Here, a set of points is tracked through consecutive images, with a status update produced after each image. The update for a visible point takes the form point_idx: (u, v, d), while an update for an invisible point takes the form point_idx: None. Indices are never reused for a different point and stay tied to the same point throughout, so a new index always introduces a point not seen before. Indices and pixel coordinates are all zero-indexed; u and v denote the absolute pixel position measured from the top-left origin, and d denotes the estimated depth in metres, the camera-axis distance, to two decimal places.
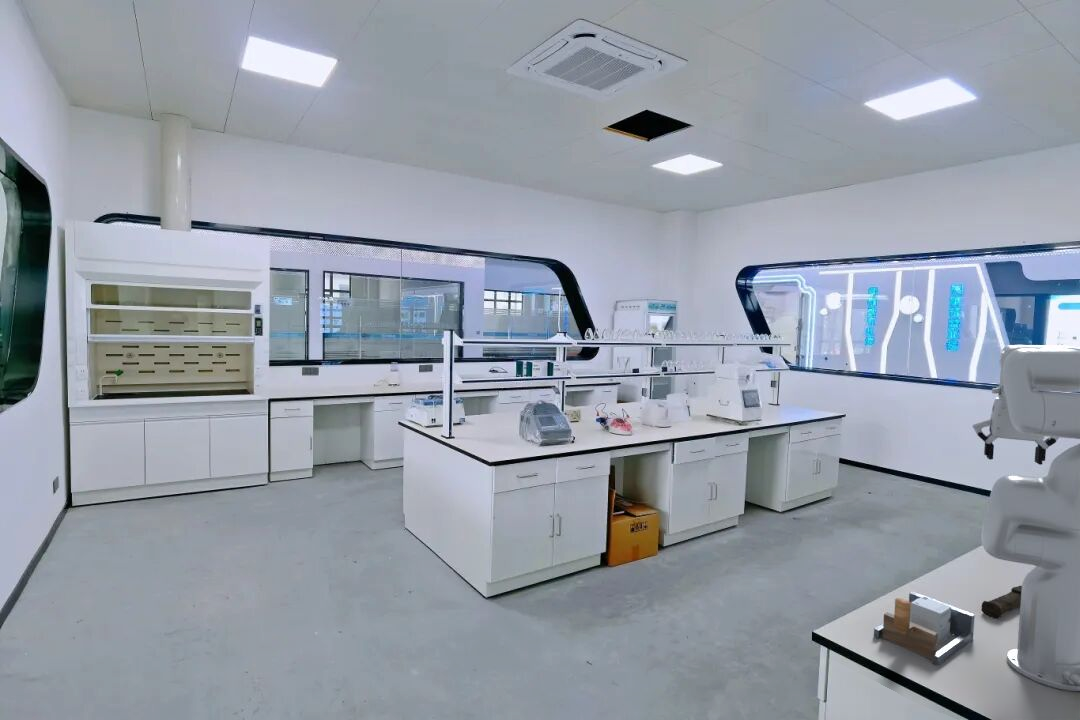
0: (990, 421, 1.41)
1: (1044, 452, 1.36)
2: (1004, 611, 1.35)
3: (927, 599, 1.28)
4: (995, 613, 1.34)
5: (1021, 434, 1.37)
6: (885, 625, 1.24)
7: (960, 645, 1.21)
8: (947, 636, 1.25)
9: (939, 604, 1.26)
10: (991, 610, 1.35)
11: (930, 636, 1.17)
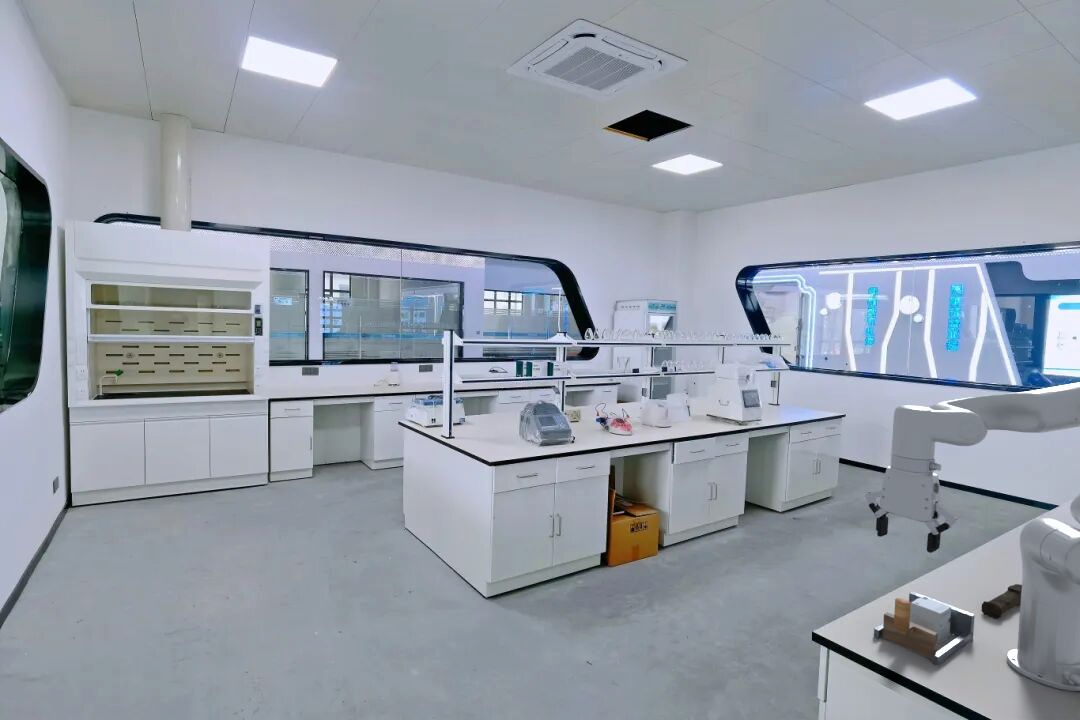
0: None
1: None
2: (1004, 611, 1.35)
3: (927, 599, 1.28)
4: (996, 613, 1.34)
5: None
6: (885, 625, 1.24)
7: (960, 645, 1.21)
8: (947, 636, 1.25)
9: (939, 604, 1.26)
10: (991, 611, 1.35)
11: (930, 636, 1.17)
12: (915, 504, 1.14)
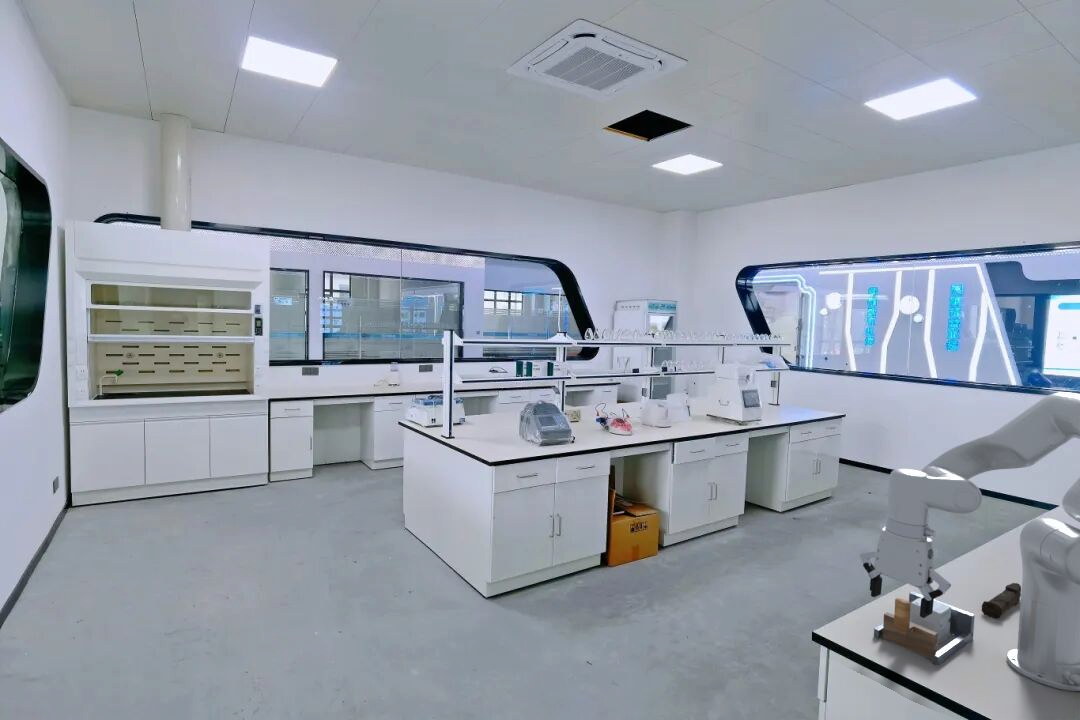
0: None
1: None
2: (1003, 611, 1.35)
3: None
4: (996, 613, 1.34)
5: None
6: (885, 625, 1.24)
7: (960, 645, 1.21)
8: (947, 636, 1.25)
9: (939, 604, 1.26)
10: (991, 611, 1.34)
11: (930, 636, 1.17)
12: (909, 569, 1.15)
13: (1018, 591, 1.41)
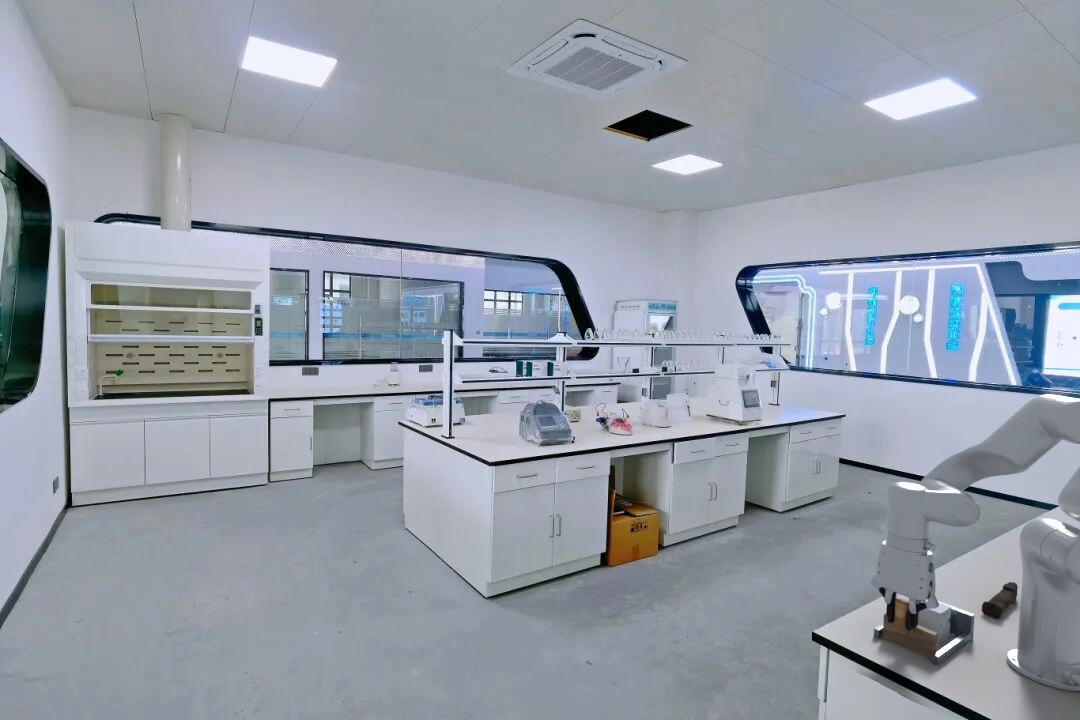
0: None
1: None
2: (1003, 610, 1.35)
3: (927, 599, 1.28)
4: (996, 613, 1.34)
5: None
6: (885, 625, 1.24)
7: (960, 645, 1.21)
8: (947, 636, 1.25)
9: (939, 604, 1.26)
10: (992, 611, 1.34)
11: (930, 636, 1.17)
12: (910, 583, 1.15)
13: (1015, 590, 1.42)
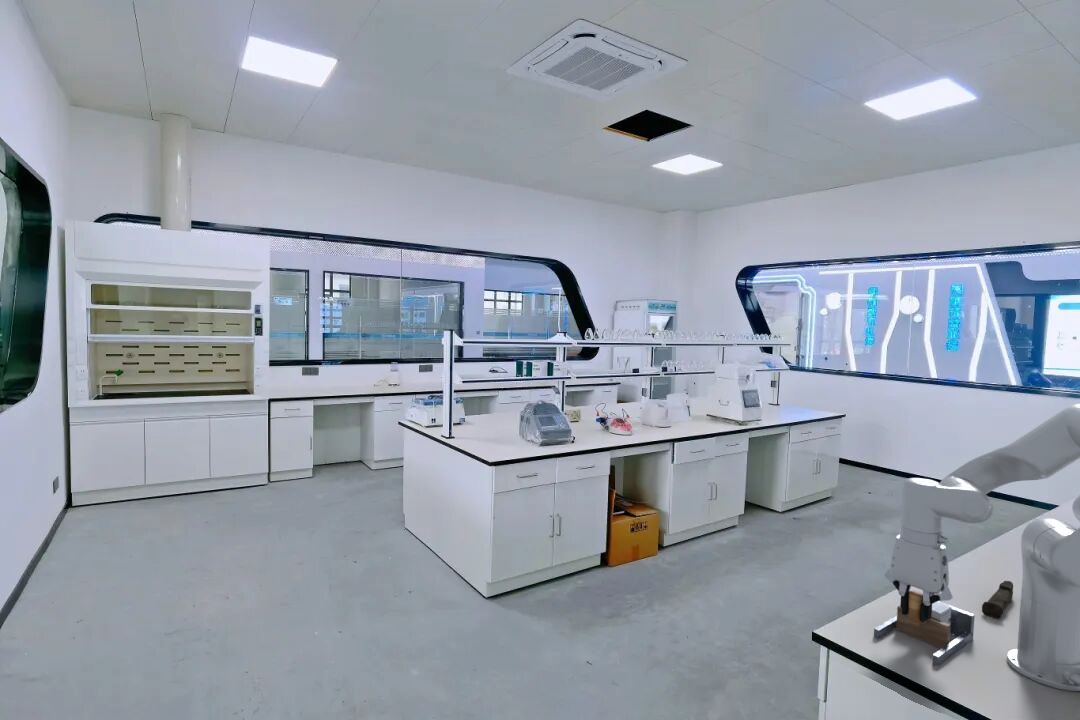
0: None
1: None
2: (1002, 610, 1.35)
3: None
4: (997, 613, 1.34)
5: None
6: (899, 617, 1.28)
7: (960, 645, 1.21)
8: None
9: (940, 603, 1.26)
10: (992, 611, 1.34)
11: (943, 627, 1.20)
12: (924, 575, 1.18)
13: (1012, 589, 1.42)
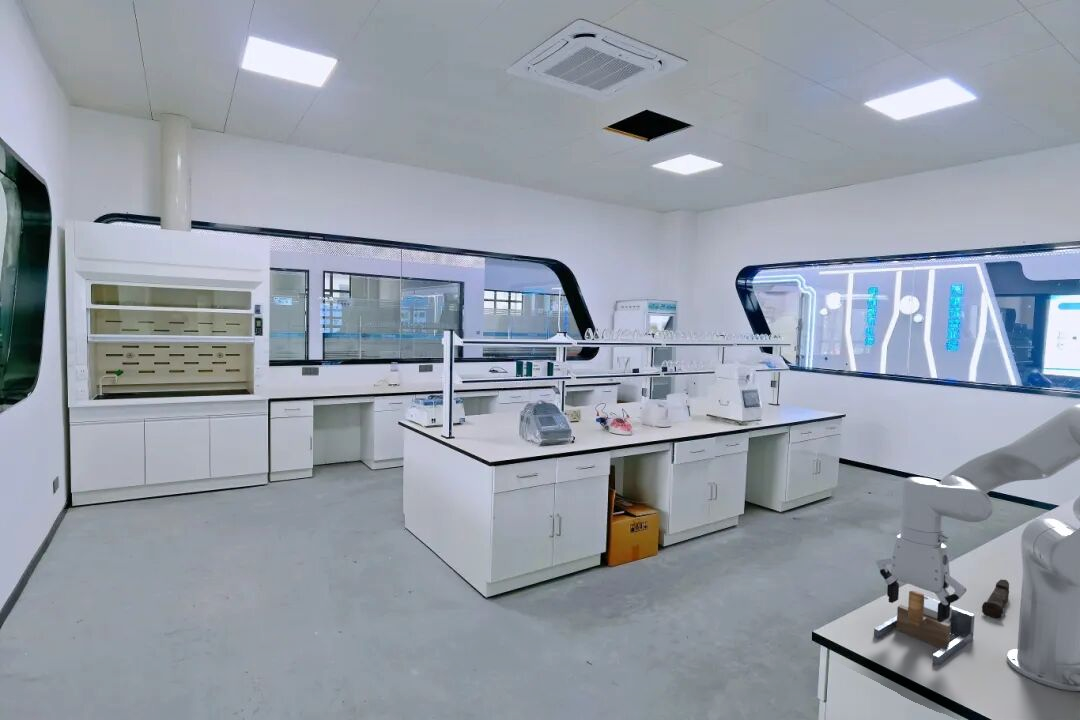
0: None
1: None
2: None
3: (928, 599, 1.29)
4: (997, 613, 1.34)
5: None
6: (899, 617, 1.28)
7: (960, 645, 1.21)
8: None
9: None
10: (992, 611, 1.34)
11: (943, 627, 1.20)
12: (925, 575, 1.18)
13: (1008, 588, 1.43)
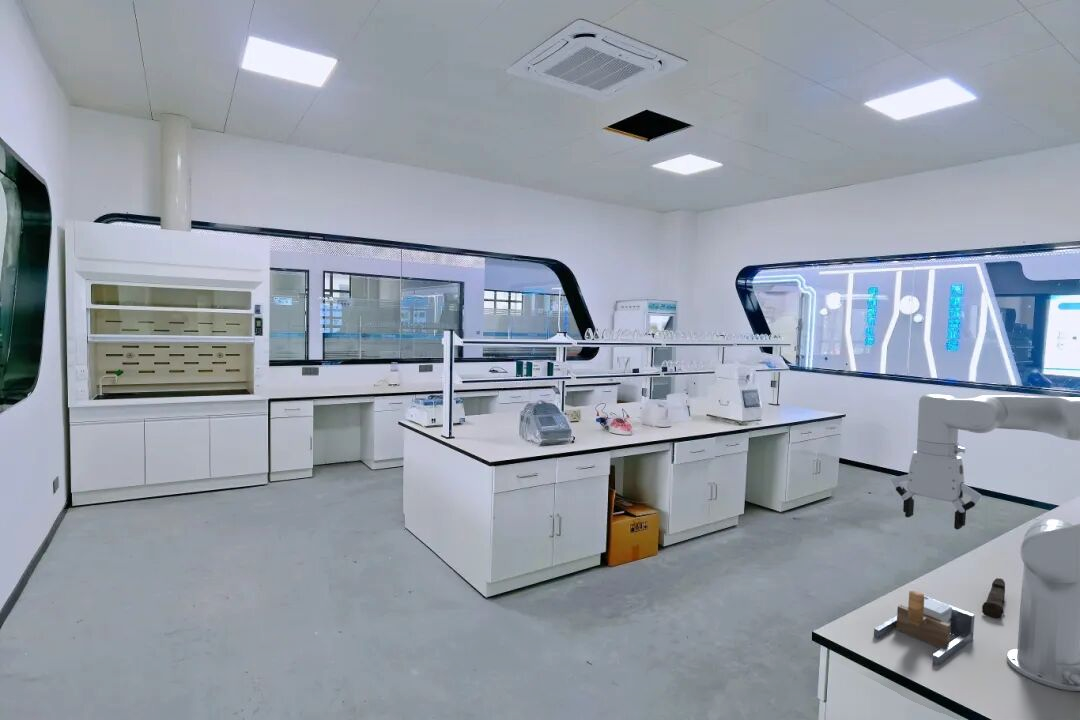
0: None
1: None
2: None
3: (928, 599, 1.29)
4: (997, 613, 1.34)
5: None
6: (899, 617, 1.28)
7: (960, 645, 1.21)
8: None
9: (940, 603, 1.26)
10: (993, 611, 1.34)
11: (943, 627, 1.20)
12: (942, 485, 1.23)
13: (1004, 587, 1.44)
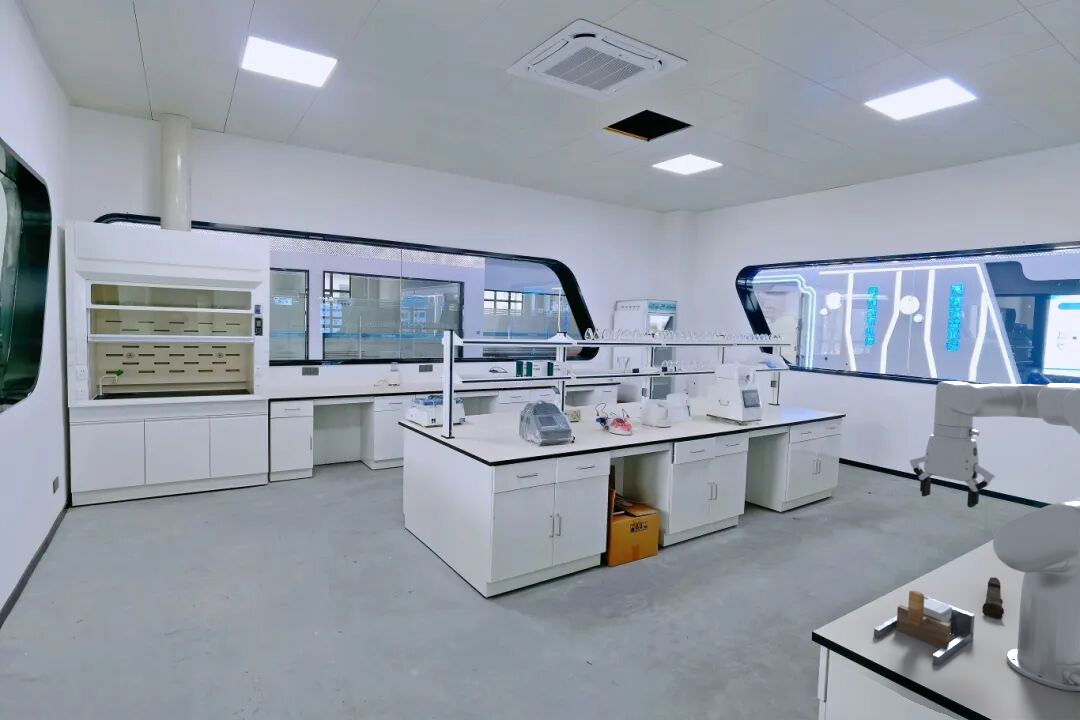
0: None
1: None
2: None
3: (928, 599, 1.29)
4: (998, 614, 1.34)
5: None
6: (899, 617, 1.28)
7: (960, 645, 1.21)
8: None
9: (940, 603, 1.26)
10: (993, 612, 1.34)
11: (943, 627, 1.20)
12: (956, 466, 1.31)
13: (1000, 586, 1.44)
